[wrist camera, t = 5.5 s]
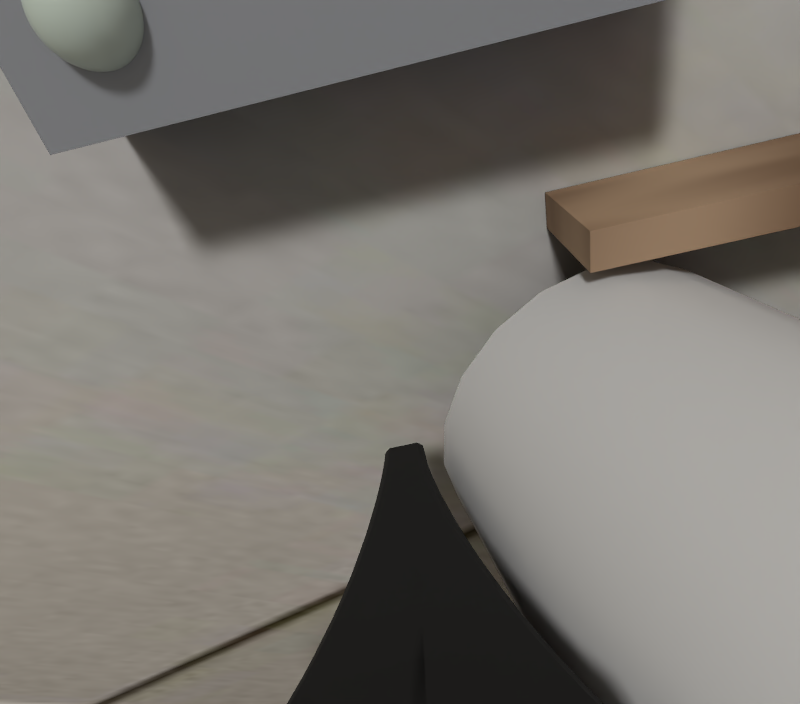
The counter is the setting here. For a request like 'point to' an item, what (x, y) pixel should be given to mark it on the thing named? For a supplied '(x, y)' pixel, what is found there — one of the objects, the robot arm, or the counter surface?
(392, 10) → the panel
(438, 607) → the robot arm
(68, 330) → the counter surface
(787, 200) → the lockout bracket
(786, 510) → the can
